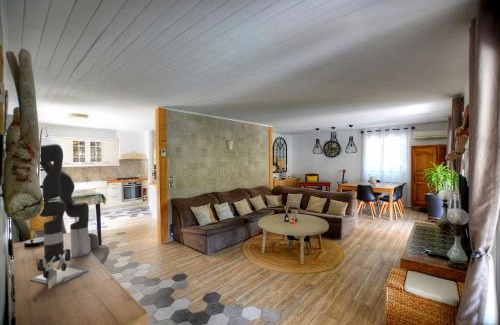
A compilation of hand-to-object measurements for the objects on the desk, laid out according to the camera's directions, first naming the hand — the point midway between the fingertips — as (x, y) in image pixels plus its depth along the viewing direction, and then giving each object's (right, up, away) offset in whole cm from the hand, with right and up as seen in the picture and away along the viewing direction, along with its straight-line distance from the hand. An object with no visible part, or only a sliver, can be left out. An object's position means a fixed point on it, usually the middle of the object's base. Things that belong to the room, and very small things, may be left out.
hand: (55, 274), depth 118 cm
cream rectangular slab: (+3, -3, -6) cm, 7 cm away
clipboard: (-1, -3, +5) cm, 6 cm away
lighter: (0, -2, 0) cm, 2 cm away
